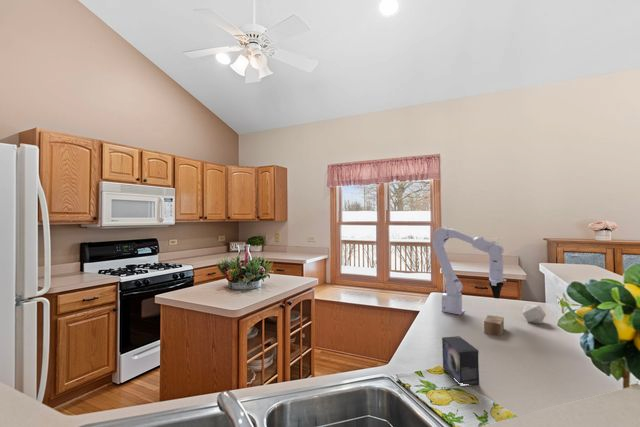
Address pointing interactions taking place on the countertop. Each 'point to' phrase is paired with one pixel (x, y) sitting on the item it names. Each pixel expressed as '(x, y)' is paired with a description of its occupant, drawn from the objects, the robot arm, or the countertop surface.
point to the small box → (460, 360)
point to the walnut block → (494, 325)
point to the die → (533, 313)
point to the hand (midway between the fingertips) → (496, 297)
